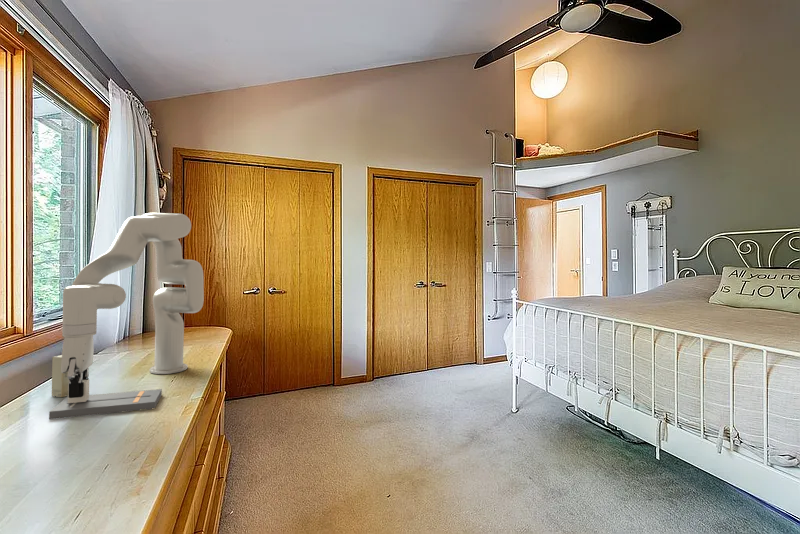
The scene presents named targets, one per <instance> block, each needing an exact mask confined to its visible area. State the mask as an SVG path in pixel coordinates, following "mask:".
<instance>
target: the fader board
mask: <svg viewBox="0 0 800 534" xmlns="http://www.w3.org/2000/svg"><path fill="white" fill-rule="evenodd" d="M162 393H163V391H162V388H159V389H145V390H136V391H135V390H134V391H132V390H131V391H120V392H108V393H97V394H96V393H95V394H89V399H88V400H87V401H86V402H77V403H68V396H65V397H64V399H62V400H61V401H60V402H59V403H58V404H57V405H55V406H54V407H52V409H50V410H49V412H48V419H49V420H53V419H65V418H64V417H66V418H74V417H85V416H95V415H104V414H105V415H106V414H115V413H114V412H117V413H123V412H122V411H127V412H134V411H133V410H137V411H141V410H140V409H147V410H153V409H152V408H155V409H156V407H157V405H158V403H159V401H160V399H161V397H162V396H163V395H162Z"/></svg>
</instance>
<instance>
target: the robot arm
mask: <svg viewBox="0 0 800 534" xmlns="http://www.w3.org/2000/svg"><path fill="white" fill-rule="evenodd" d="M190 219H191V218H189V217H188V216H187V215H186V214H183V213H174V212H173V213H170V212H166V213H165V212H148V213H144V214H142V215H136V216H130V217H128V218H127V219H126V220H124V222H123V224H122V226H121V227H120V228H119V231H118V233H117V235H116V236H115V238H114V240H113V242H112V243H111V245H110V247H109V249H108V250H107V251H106V252H105V253H103V254H101V255H99V256H97V258H95V259H93V260H92V261H90V262H89V263H88V264H86V265H85V266H84V267H83V268H81V270H80V271H79V272H78V274H77V275H76V277H75V279H74V281H73V282H72V283H71V285H69V286H66V287H64V289H63V293H62V327H61V328H62V330H61V333H62V334H61V335H62V336H61V337H63V344H62V351H61V355H62V361H61V372H62V373H66V372H68V376H67V377H68V378H69V398H76V397H82V396H83V395H84V382H82V380H89V381H90V379H89V377H90V376H89V375H90V373H89V372H90V370H89V369H90V368H89V367H91V366H92V365H93V363H94V352H95V351H94V336H95V335H97V330H98V329H97V326H98V325H97V322H98V320H97V319H98V310H113V309H116V308H119V307H120V306H122V305H123V304H124V303H125V301H126V298H127V293H126V290H125V289H124V288H123V287H121V286H120V285H118V284H114V283H102V282H101V281H102V280H103V279H105V278H106V277H108V276H109V275H111V274H114V273H117V272H119V271H122V270H125V269H127V268H128V269H129V268H130V267H133V266H135V264H136V265H137V263H138V262H139V260H140V258H141V256H142V254H143V252H144V250H145V247H146V246H147V244H148V243H151V242H153V244H154V247H155V253H156V254H155V255H156V257H155V259H156V260H155V263H156V277H157V280H158V281H159V283H162V284H165V285H166V284H167V285H184V286H185V287H173V286H168V287H167V286H166V287H162V288H159V289H158V290H156V291H155V292H154V293H153V296H152V306H153V310H154V318H155V319H154V321H155V323H154V324H155V325H154V326H155V327H154V329H155V331H154V332H155V333H154V365H153V366H151V367H150V368H149V372H150V373H151V374H154V375H155V374H156V375H167V374H168V375H170V374H176V373H181V372H184V371H185V370H187V369H188V367H189V366H188V364H187V363H184V345H185V344H184V339H185V338H184V335H185V322H184V319H183V317H182V316H181V314H196V313H198V312H200V311H201V310H202V308H203V306H204V301H205V300H204V299H205V298H204V297H205V294H204V293H205V292H204V284H205V281H204V270H203V266H202V265H201V263H200V262H199V261H197V260H194V259H184V258H183V247H182V244H181V242H180V240H179V239H181V238H184V237H187V236H188V235H189V234H190V232H191V230H192V222H191V220H190ZM100 282H101V283H100ZM180 313H181V314H180ZM75 371H76V372H75Z"/></svg>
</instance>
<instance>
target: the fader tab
mask: <svg viewBox="0 0 800 534" xmlns="http://www.w3.org/2000/svg"><path fill="white" fill-rule="evenodd" d="M82 382H84V395H83V396H82V397H76V398H69V383H68V396H67V397H68V403H77V402H86V401H87V400H88V399H89V395H90V379H89V380H82Z"/></svg>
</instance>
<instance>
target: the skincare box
mask: <svg viewBox="0 0 800 534" xmlns="http://www.w3.org/2000/svg"><path fill="white" fill-rule="evenodd" d="M51 358H52V361H51V362H52V365H51V366H52V367H51V396H52V397H55V396H56V397H55V398H66V397H68V383H69V378H68V377H67V376H68V372H66V373H62V372H61V361H62V354H61V355H56V356H51ZM75 372H76V371H75Z"/></svg>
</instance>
